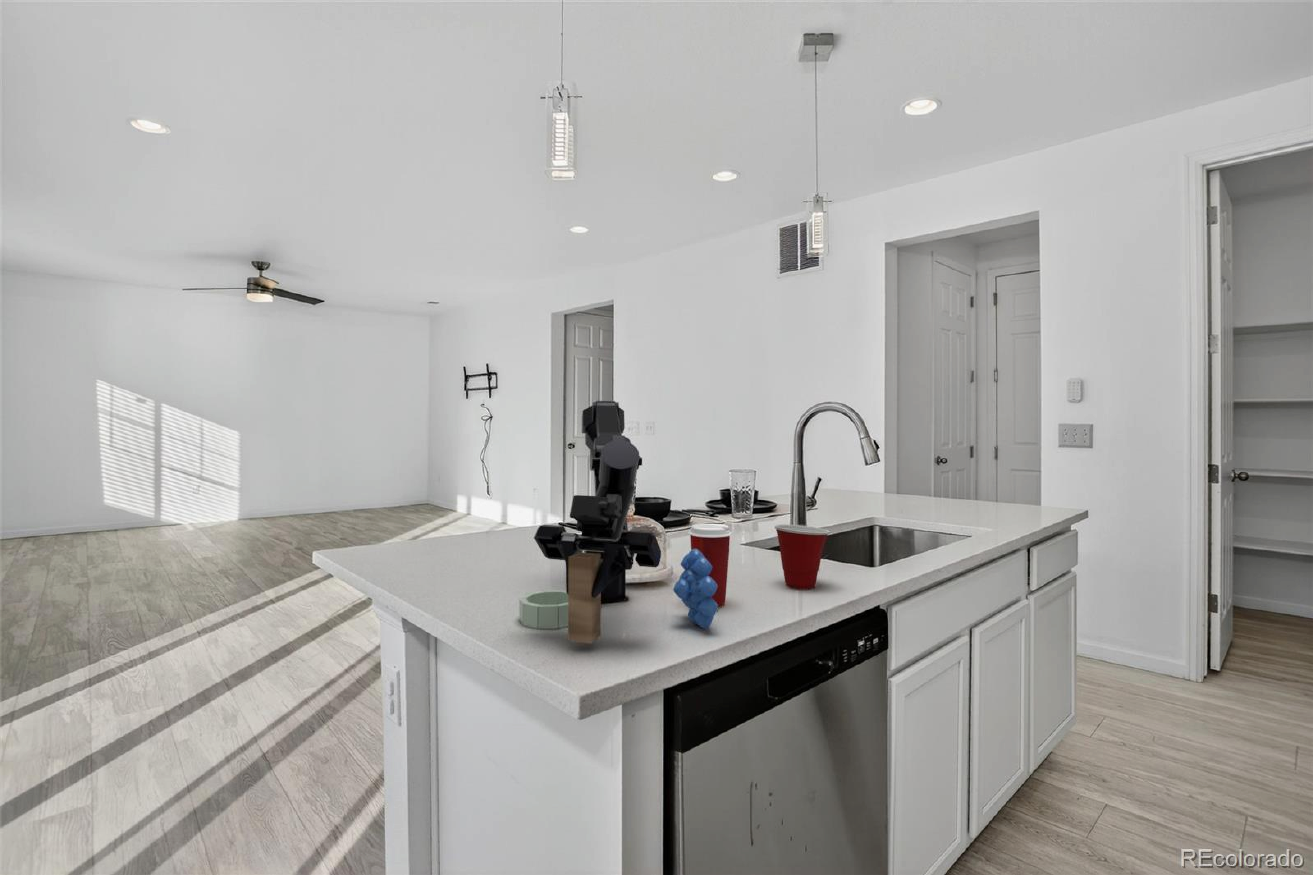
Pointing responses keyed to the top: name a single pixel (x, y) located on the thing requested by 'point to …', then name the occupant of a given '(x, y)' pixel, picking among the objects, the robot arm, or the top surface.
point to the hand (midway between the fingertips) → (580, 594)
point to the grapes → (697, 588)
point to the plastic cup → (800, 554)
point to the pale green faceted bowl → (544, 609)
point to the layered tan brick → (583, 598)
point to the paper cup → (714, 553)
